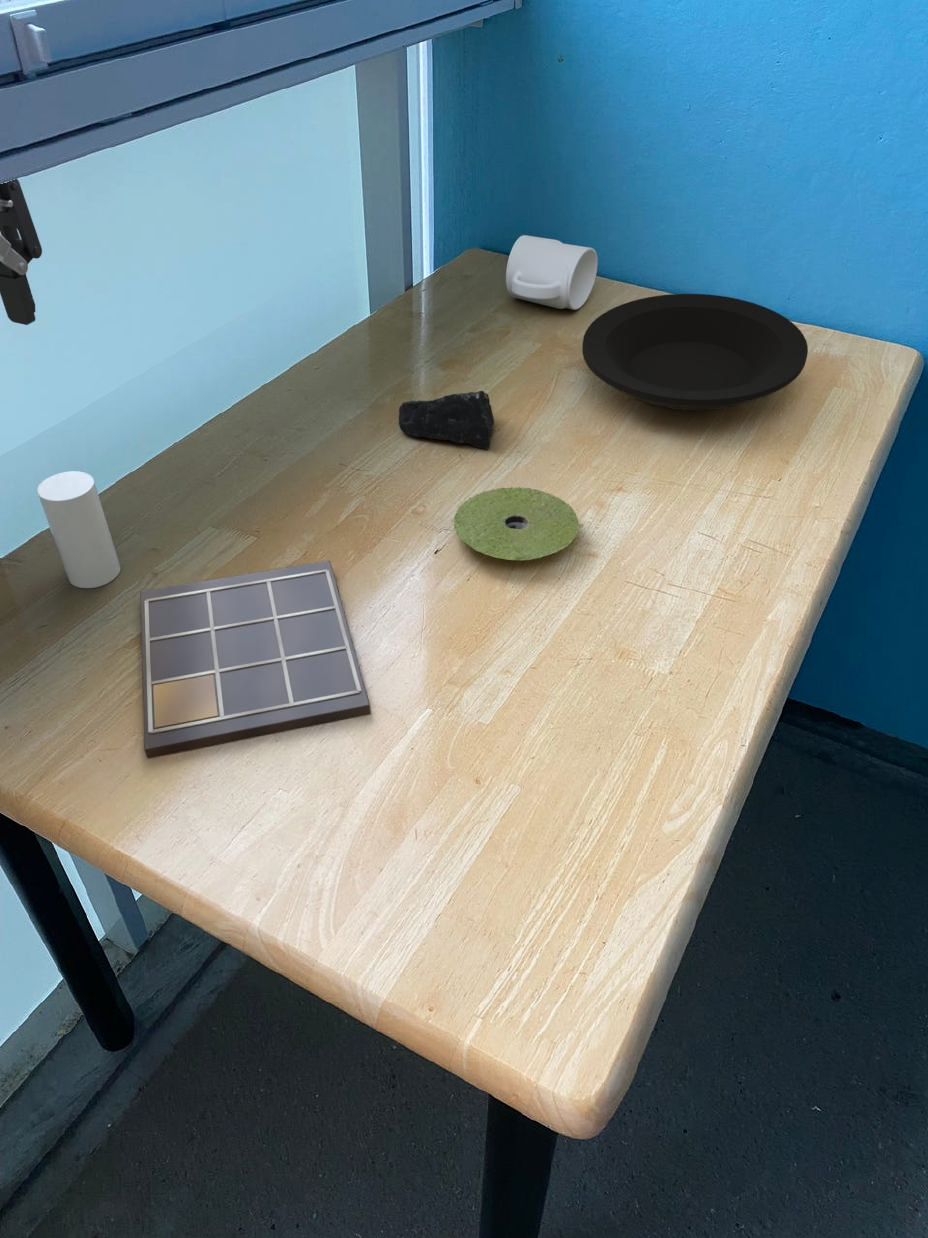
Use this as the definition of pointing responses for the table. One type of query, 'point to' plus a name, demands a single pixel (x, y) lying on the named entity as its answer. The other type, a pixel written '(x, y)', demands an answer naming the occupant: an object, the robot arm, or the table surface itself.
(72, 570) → the tall white cylinder
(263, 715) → the board
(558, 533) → the green grinding disc
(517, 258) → the mug
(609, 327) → the plate
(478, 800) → the table surface
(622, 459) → the table surface
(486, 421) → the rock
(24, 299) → the robot arm
